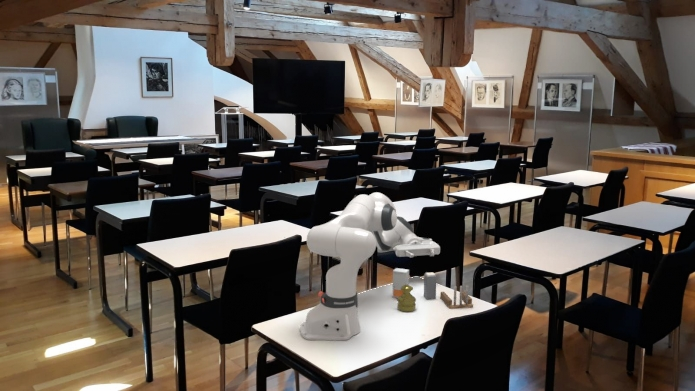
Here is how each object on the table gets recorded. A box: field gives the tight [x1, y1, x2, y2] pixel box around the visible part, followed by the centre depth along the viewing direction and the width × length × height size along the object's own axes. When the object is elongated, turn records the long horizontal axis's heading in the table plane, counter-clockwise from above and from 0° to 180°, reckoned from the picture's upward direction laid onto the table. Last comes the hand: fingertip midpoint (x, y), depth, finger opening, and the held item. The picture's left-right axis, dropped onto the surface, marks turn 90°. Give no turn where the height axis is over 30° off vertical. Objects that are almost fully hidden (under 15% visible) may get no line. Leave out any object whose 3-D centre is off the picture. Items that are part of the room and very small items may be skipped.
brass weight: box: [396, 284, 417, 313], centre depth 229 cm, size 7×7×10 cm
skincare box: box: [391, 267, 410, 298], centre depth 242 cm, size 6×4×12 cm
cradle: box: [439, 284, 474, 310], centre depth 235 cm, size 10×12×9 cm
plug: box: [423, 272, 437, 300], centre depth 241 cm, size 4×4×11 cm
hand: (422, 255), depth 251 cm, fingers open, 8 cm apart
